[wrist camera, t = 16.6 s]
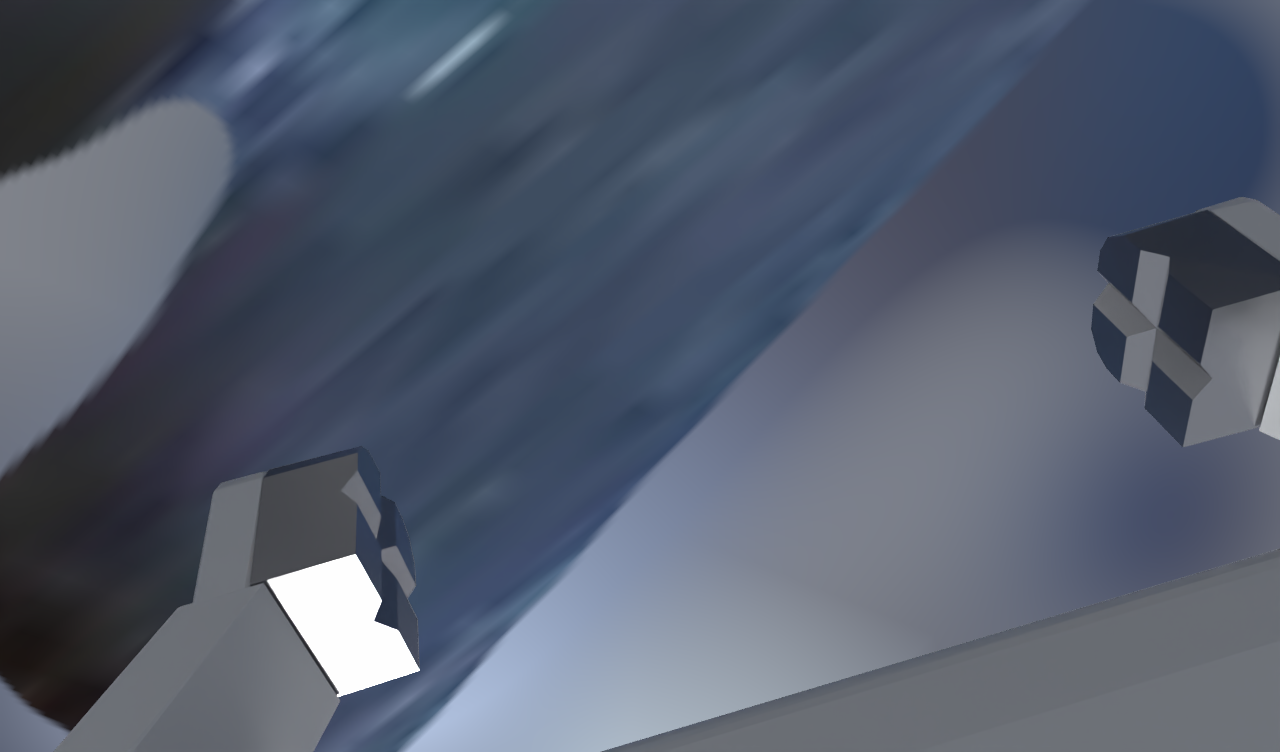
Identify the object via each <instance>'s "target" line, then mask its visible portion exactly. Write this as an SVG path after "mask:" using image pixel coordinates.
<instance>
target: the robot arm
mask: <svg viewBox="0 0 1280 752" xmlns="http://www.w3.org/2000/svg"><path fill="white" fill-rule="evenodd" d="M1098 272H1099V273H1100V274H1101V275H1102V276H1103V277H1104V279H1105V280H1106V281H1107V282H1108V283H1109V284H1108V285H1107V286H1106V288H1105V289H1104V290H1103V292H1102V293H1101V295H1100V296H1099V297H1098V298H1097V300H1096V301H1095V303H1094V304H1093V314H1092V327H1091V330H1092V333H1093V337H1094V341H1095V345H1096V349H1097V352H1098V354H1099V356H1100V358H1101V359H1102V361H1103V363H1104V364H1105V366H1106V368H1107V369H1108V370H1109V371H1110V372H1111V374H1112V375H1113V376H1114V377H1115V378H1116V379H1117V380H1118V381H1119V382H1120V383H1122V384H1125V385H1128V386H1131V387H1134V388H1137V389H1140V390H1142V391H1145V392H1146V395H1145V409H1146V410H1147V411H1148V412H1149V413H1150V414H1151V415H1152V416H1153V417H1154V418H1155V419H1156V420H1157V421H1158V422H1159V423H1160V424H1161V425H1162V426H1163V427H1164V429H1165V430H1167V431H1168V433H1169V434H1170V435H1171V436H1172V437H1174V439H1175V440H1176V441H1177V442H1178V443H1179V444H1180V445H1181V446H1182V447H1186V446H1190V445H1193V444H1197V443H1201V442H1205V441H1208V440H1212V439H1216V438H1220V437H1224V436H1227V435H1231V434H1235V433H1239V432H1243V431H1246V430H1250V429H1254V428H1258V427H1260V429H1259V431H1261V432H1263V433H1265V434H1268V435H1270V436H1272V437H1274V438H1276V439H1279V440H1280V215H1279V214H1277V213H1276V212H1274V211H1273V210H1271V209H1270V208H1268V207H1267V206H1265V205H1263V204H1262V203H1261V202H1259V201H1257V200H1254V199H1249V198H1244V197H1240V198H1236V199H1233V200H1230V201H1227V202H1223V203H1220V204H1217V205H1213V206H1210V207H1207V208H1203V209H1200V210H1197V211H1196V212H1195V213H1192V214H1188V215H1185V216H1181V217H1177V218H1174V219H1170V220H1167V221H1163V222H1160V223H1156V224H1153V225H1150V226H1146V227H1143V228H1139V229H1136V230H1132V231H1129V232H1125V233H1122V234H1118V235H1115V236H1111V237H1108V238H1107V240H1106V241H1105V243H1104V245H1103V247H1102V249H1101V250H1100V256H1099V263H1098ZM415 586H416V578H415V564H414V559H413V554H412V549H411V544H410V539H409V536H408V533H407V530H406V527H405V525H404V522H403V519H402V517H401V515H400V512H399V510H398V508H397V506H396V504H395V502H393V501H391V500H389V499H387V498H385V497H383V496H381V482H380V471H379V469H378V467H377V466H376V464H375V462H374V460H373V458H372V456H371V454H370V452H369V450H367V449H365V448H364V447H362V446H360V447H356V448H352V449H348V450H344V451H340V452H336V453H332V454H329V455H325V456H321V457H317V458H313V459H309V460H305V461H301V462H297V463H294V464H290V465H286V466H282V467H278V468H274V469H270V470H269V471H268V472H261V473H257V474H253V475H249V476H246V477H242V478H238V479H234V480H231V481H227V482H223V483H221V484H220V485H219V486H218V487H217V489H216V490H215V491H214V493H213V496H212V502H211V507H210V512H209V518H208V523H207V529H206V534H205V539H204V545H203V550H202V556H201V561H200V566H199V572H198V577H197V583H196V588H195V593H194V599H193V603H191V604H188V605H185V606H181V607H178V608H177V610H176V611H175V612H174V613H173V614H172V615H171V617H170V618H169V619H168V620H167V621H166V622H165V623H164V625H163V626H162V627H161V628H160V629H159V630H158V632H157V633H156V634H155V635H154V636H153V637H152V638H151V640H150V641H149V642H148V643H147V644H146V645H145V647H144V648H143V649H142V650H141V651H140V652H139V653H138V655H137V656H136V657H135V658H134V659H133V660H132V662H131V663H130V664H129V665H128V666H127V667H126V669H125V670H124V671H123V672H122V673H121V674H120V675H119V677H118V678H117V679H116V680H115V681H114V682H113V684H112V685H111V686H110V687H109V688H108V689H107V690H106V692H105V693H104V694H103V695H102V696H101V697H100V699H99V700H98V701H97V702H96V703H95V704H94V705H93V707H92V708H91V709H90V710H89V711H88V712H87V714H86V715H85V716H84V717H83V718H82V719H81V721H80V722H79V723H78V724H77V725H76V726H75V727H74V729H73V730H72V731H71V732H70V733H69V734H68V736H67V737H66V738H65V739H64V740H63V741H62V742H61V744H60V745H59V746H58V747H57V748H56V749H55V751H54V752H313V751H314V749H315V747H316V746H317V744H318V742H319V740H320V738H321V736H322V734H323V732H324V730H325V729H326V727H327V725H328V723H329V721H330V719H331V717H332V715H333V714H334V712H335V710H336V708H337V706H338V704H339V702H340V700H339V698H338V697H339V696H342V695H345V694H348V693H351V692H354V691H357V690H360V689H364V688H367V687H370V686H373V685H376V684H379V683H382V682H385V681H388V680H392V679H395V678H398V677H401V676H404V675H407V674H410V673H413V672H416V671H419V646H418V619H417V617H416V615H415V613H414V611H413V609H412V607H411V605H410V603H409V601H408V599H407V598H408V597H409V595H410V594H411V592H412V591H413V589H414V588H415ZM602 752H1280V549H1277V550H1274V551H1270V552H1267V553H1263V554H1260V555H1257V556H1253V557H1250V558H1247V559H1244V560H1240V561H1237V562H1233V563H1230V564H1226V565H1223V566H1220V567H1216V568H1213V569H1210V570H1207V571H1203V572H1200V573H1196V574H1193V575H1190V576H1187V577H1183V578H1180V579H1176V580H1173V581H1170V582H1166V583H1163V584H1160V585H1156V586H1153V587H1150V588H1147V589H1143V590H1140V591H1137V592H1133V593H1130V594H1127V595H1123V596H1120V597H1116V598H1113V599H1109V600H1106V601H1103V602H1099V603H1096V604H1093V605H1090V606H1086V607H1083V608H1079V609H1076V610H1073V611H1069V612H1066V613H1063V614H1059V615H1056V616H1053V617H1049V618H1046V619H1043V620H1039V621H1036V622H1033V623H1030V624H1026V625H1023V626H1019V627H1016V628H1013V629H1009V630H1006V631H1003V632H1000V633H996V634H993V635H989V636H986V637H983V638H979V639H976V640H973V641H970V642H966V643H963V644H959V645H956V646H952V647H949V648H946V649H943V650H939V651H936V652H932V653H929V654H926V655H922V656H919V657H916V658H912V659H909V660H906V661H903V662H899V663H896V664H892V665H889V666H886V667H882V668H879V669H876V670H872V671H869V672H866V673H862V674H859V675H856V676H852V677H849V678H846V679H842V680H839V681H836V682H832V683H829V684H826V685H822V686H819V687H816V688H813V689H809V690H806V691H802V692H799V693H796V694H792V695H789V696H785V697H782V698H779V699H775V700H772V701H769V702H765V703H762V704H759V705H755V706H752V707H749V708H745V709H742V710H739V711H736V712H732V713H729V714H726V715H722V716H719V717H715V718H712V719H709V720H705V721H702V722H699V723H696V724H692V725H689V726H686V727H682V728H679V729H675V730H672V731H669V732H666V733H662V734H659V735H656V736H652V737H649V738H646V739H642V740H639V741H635V742H632V743H629V744H625V745H622V746H619V747H615V748H612V749H609V750H605V751H602Z"/></svg>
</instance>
